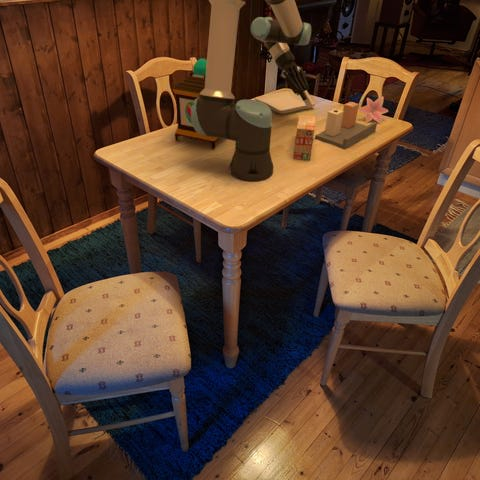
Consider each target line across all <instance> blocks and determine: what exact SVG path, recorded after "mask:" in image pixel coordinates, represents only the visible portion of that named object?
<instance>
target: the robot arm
mask: <svg viewBox="0 0 480 480" xmlns="http://www.w3.org/2000/svg"><path fill="white" fill-rule="evenodd" d="M208 1H209V4H210V6H211V7H210V8H211V10H210V19H209V20H210V21H209V34H208V43H207V44H208V45H207V53H206V55H207V56H206V60H207V66H206V78H205V88H204V89H203V90H202V91H201V92H200V93H199V98H197V99H195V100H194V102H193V106H192V107H191V121H192V125H193V127H194V129H195V131H196V132H197V133H199V134H202V135H206V136H208V137H216V138H220V139H223V140H228V141H233V142H234V143H235V146H234V148H235V149H234V152H233V155H232V158H231V160H230V163H229V172H230V175H232V176H233V177H235V178H236V179H239V180H241V181H244V182H245V181H247V182H259V181H265V180H266V179H269V178H271V176H272V175H273V174H274V167H275V166H274V162H273V161H272V160H273V159H272V156H271V151H270V150H271V149H270V148H271V136H272V126H273V121H272V118H273V113H272V112H273V111H272V109H270V108H269V107H268V106H267V105H266V104H264V103H262V102H259V101H256V100H255V99H240V100H238V101H237V102H236V103H235V98H236V97H235V96H234V94H233V92H232V87H231V84H232V83H233V73H234V64H235V63H234V62H235V56H236V55H235V53H236V46H237V45H236V44H237V36H238V28H239V17H240V10H241V8H242V7H243V6H244V5H246V0H208ZM264 1H265V3H267V4H268V5H270V7H271V10H272V11H273V14H274V16H275V18H276V19H273V18H272V17H271V16H268V17H266V16H265V17H262V16H258V17H256V18H255V19H253V20H252V23H251V24H250V33H251V35H252V36H253V38H255V39H256V40H258V41H261V42H263V44H264V45H265V47H266V48H267V50H268V51H269V53H270V55H271V57H272V59H273V60H274V62H275V65H276V66H277V68H278V69H279V70H281V74H280V75H279V76H280V78H281V79H282V80H283V81H284V82H285V83H286V85H288V87H289V88H290V89H291V90H292V91H291V92H292V93H294V94H296V95H299V96H301V98H302V100H303V101H304V102H305V104H306V106H307V109H310V108H312V107H314V106H315V105H314V103H315V102H314V101H313V99H312V98H311V95H310V93H309V91H308V90H309V86H310V85H309V83H308V80H307V78H306V75H305V73H304V71H303V70H304V69H303V66H301V65H300V66H298V64H297V63H296V62H295V61H294V60H295V56H294V54H293V53H292V51H291V50H290V47H289V45H295V46H307V45H309V43H310V40H311V37H312V26H311V23H308V22H303V21H302V18H301V16H300V12H299V10H298V6H297V4H296V1H295V0H264ZM232 85H233V84H232ZM313 102H314V103H313ZM313 105H314V106H313ZM311 106H312V107H311Z"/></svg>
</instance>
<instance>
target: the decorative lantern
mask: <svg viewBox="0 0 480 480" xmlns="http://www.w3.org/2000/svg"><path fill="white" fill-rule="evenodd" d="M206 66H207V58H199V59H198V60H196V62H195V63H194V64H193V67H192V70H193V71H192V72H190V73H189V75H188V76H186V78H184V79H182V80H180V81H178V82H177V83H176V84H174V86H173V87H172V91H173V93H174V94H175V100H176V101H175V103H176V117H177V127H176V129H175V132H174V139H175V141H176V142H179V141H180V139H181V137H183V138H188V139H193V140H196V141H197V140H198V141H203V142H207V143H209V144H210V146H211V149H212V150H216V143H217V142H218V141H219V140H220V139H221V138H216V137H208V136H206V135H202V134H199V133H197V132H196V131H195V129H194V127H193V125H192V121H191V107H192V106H193V102H194V100H195V99H197V98H199V93H200V92H201V91H202V90H203V89H204V88H205V78H206ZM233 85H234V84H233V82H232V84H231V88H232V87H233Z"/></svg>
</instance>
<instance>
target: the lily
mask: <svg viewBox="0 0 480 480" xmlns="http://www.w3.org/2000/svg"><path fill="white" fill-rule="evenodd" d="M383 104H384V96H380V97H378V98H377V99H376V100H375V101H373V100H372V99H370V98H369V97H366V105H364V106H362V107H358V111H359V112H360V113H363V114H365V116H366V117H365V123H366V124H367V123H369V122H370V121H372V120H374V122H376V123H377V124H379V125H382V124H383V114H386V113H389V110H388V109H387V108H385V107H383Z"/></svg>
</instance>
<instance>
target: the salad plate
mask: <svg viewBox="0 0 480 480" xmlns="http://www.w3.org/2000/svg"><path fill="white" fill-rule="evenodd" d="M254 100H256V101H259V102H262V103H264V104H266V105H267V106H268V107H269V108H270V109H271V111H274V112H275V113H278V114H281V115H284V114H285V113H286V114H290V113H294V112H299V111H303V110H307V109H308V108H307V106H306V104H305V102H304V101H303V100H302V98H301V96H300V95H297V94H295V93H294V92H293V91H290V90H288V91H283V92H276V93H275V92H274V93H272V94H265V95H261V96H256V97H254ZM313 103H314V105H313V106H311V107H310V108H313V107H314V106H315V105H316V102H314V101H313Z"/></svg>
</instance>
